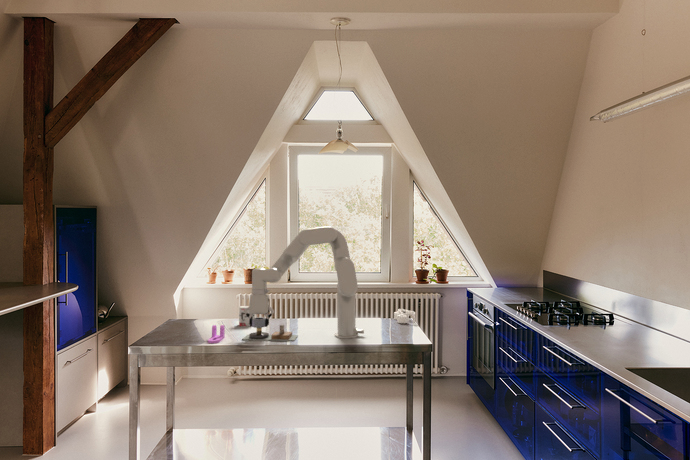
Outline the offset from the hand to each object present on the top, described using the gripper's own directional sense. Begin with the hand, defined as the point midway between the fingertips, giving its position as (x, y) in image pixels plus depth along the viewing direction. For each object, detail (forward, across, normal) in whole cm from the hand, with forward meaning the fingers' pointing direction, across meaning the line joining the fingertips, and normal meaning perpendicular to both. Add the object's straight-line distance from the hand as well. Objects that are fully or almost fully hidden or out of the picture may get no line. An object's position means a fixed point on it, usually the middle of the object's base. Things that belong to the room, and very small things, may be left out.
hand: (259, 325), depth 244 cm
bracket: (+7, +21, +7) cm, 23 cm away
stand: (+6, -12, 0) cm, 13 cm away
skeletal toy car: (+7, -78, -48) cm, 92 cm away
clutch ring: (0, 0, 0) cm, 0 cm away
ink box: (+7, +15, -30) cm, 34 cm away
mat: (+6, -6, 0) cm, 9 cm away
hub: (+6, 0, 0) cm, 6 cm away
